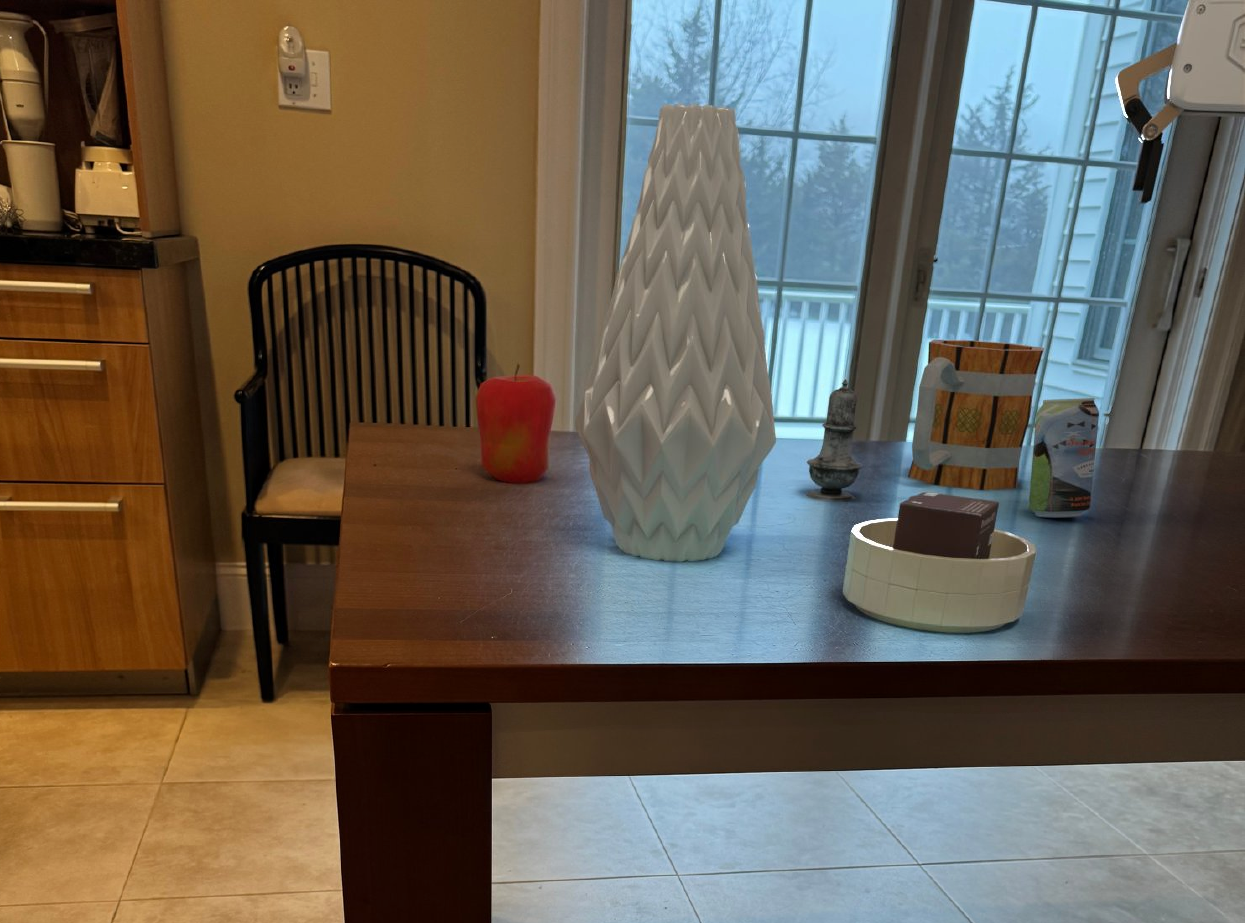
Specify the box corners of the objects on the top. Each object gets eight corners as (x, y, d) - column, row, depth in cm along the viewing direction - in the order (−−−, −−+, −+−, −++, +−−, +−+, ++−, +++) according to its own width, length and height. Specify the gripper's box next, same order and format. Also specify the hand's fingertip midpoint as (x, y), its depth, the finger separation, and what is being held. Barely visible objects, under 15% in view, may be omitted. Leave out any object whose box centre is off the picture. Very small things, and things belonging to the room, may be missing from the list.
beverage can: (1068, 527, 119) (1096, 402, 113) (1004, 513, 124) (1028, 392, 118) (1098, 520, 123) (1126, 399, 117) (1035, 507, 127) (1059, 390, 122)
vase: (580, 523, 110) (593, 112, 95) (757, 534, 109) (799, 122, 94) (561, 567, 95) (574, 88, 80) (767, 580, 94) (819, 100, 79)
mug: (939, 465, 149) (961, 338, 142) (1040, 483, 141) (1068, 348, 134) (857, 482, 136) (876, 342, 129) (963, 502, 128) (990, 354, 121)
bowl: (1019, 600, 93) (1034, 530, 90) (1020, 647, 81) (1037, 569, 79) (852, 579, 96) (862, 511, 93) (831, 622, 85) (841, 546, 82)
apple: (516, 469, 132) (517, 357, 127) (570, 481, 128) (574, 365, 122) (459, 477, 126) (458, 360, 121) (514, 490, 122) (515, 368, 116)
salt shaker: (842, 505, 123) (858, 383, 118) (793, 496, 126) (806, 377, 121) (867, 498, 127) (883, 380, 122) (819, 489, 131) (833, 374, 125)
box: (962, 617, 85) (982, 514, 81) (882, 602, 87) (897, 502, 84) (982, 598, 89) (1001, 500, 86) (905, 585, 92) (921, 489, 89)
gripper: (1153, -89, 79) (1093, 198, 87) (1439, -93, 75) (1350, 209, 83) (1142, -63, 86) (1088, 202, 94) (1405, -65, 82) (1325, 212, 90)
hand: (1211, 205), depth 88 cm, fingers open, 9 cm apart
